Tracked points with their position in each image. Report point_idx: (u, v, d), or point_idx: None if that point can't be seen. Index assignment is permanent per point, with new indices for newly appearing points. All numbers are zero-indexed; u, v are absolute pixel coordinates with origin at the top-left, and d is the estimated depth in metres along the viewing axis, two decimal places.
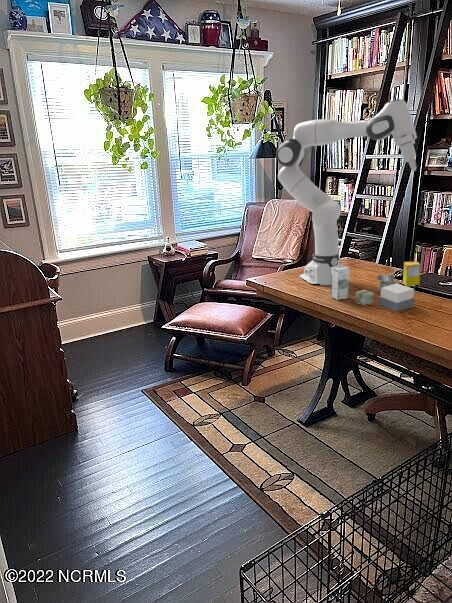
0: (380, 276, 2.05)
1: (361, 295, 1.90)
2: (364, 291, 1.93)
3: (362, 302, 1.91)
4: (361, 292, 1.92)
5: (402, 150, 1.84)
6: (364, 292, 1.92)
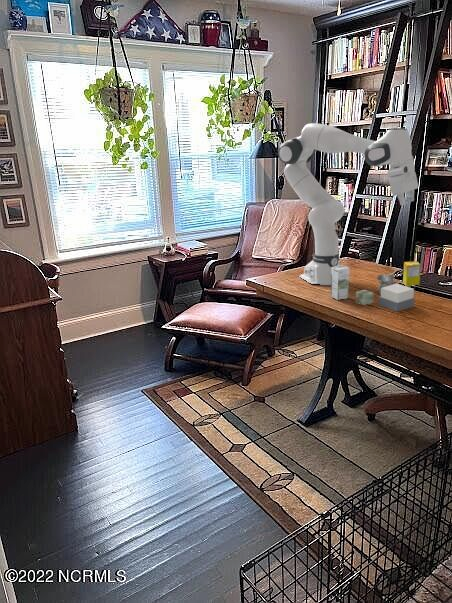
0: (380, 276, 2.05)
1: (361, 295, 1.90)
2: (364, 291, 1.93)
3: (362, 302, 1.91)
4: (361, 292, 1.92)
5: (390, 182, 1.77)
6: (364, 292, 1.92)
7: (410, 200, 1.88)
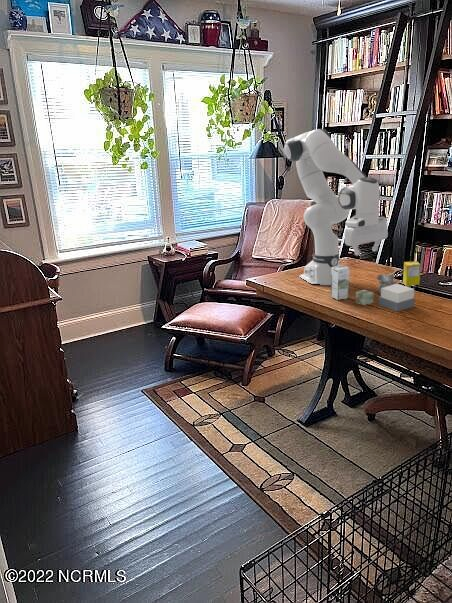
0: (380, 276, 2.05)
1: (361, 295, 1.90)
2: (364, 291, 1.93)
3: (362, 302, 1.91)
4: (361, 292, 1.92)
5: (345, 232, 1.80)
6: (364, 292, 1.92)
7: (373, 250, 1.87)
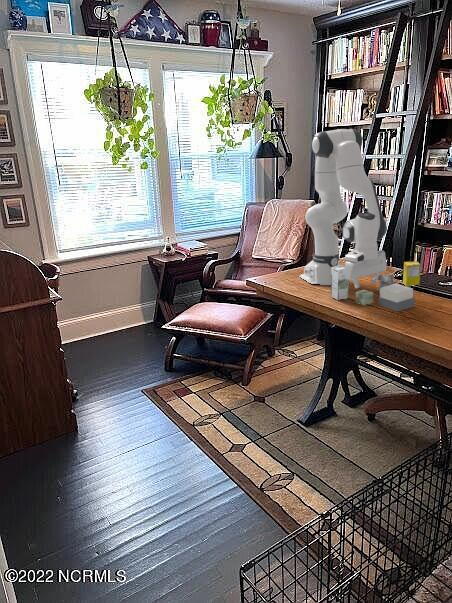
0: (380, 276, 2.05)
1: (361, 295, 1.90)
2: (364, 291, 1.93)
3: (362, 302, 1.91)
4: (361, 292, 1.92)
5: (345, 266, 1.85)
6: (364, 292, 1.92)
7: (372, 282, 1.92)
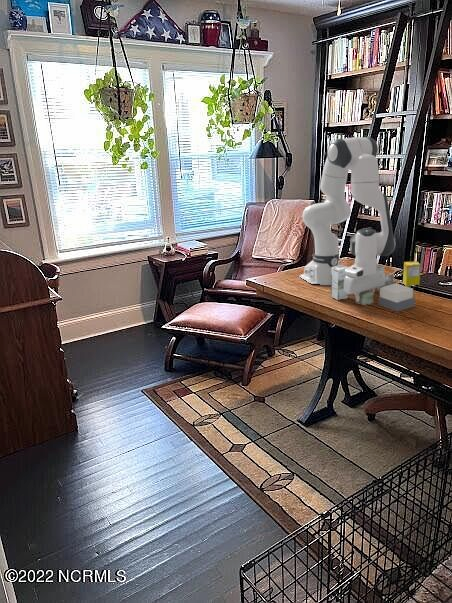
0: None
1: (361, 295, 1.90)
2: (364, 291, 1.93)
3: (362, 302, 1.91)
4: (361, 292, 1.92)
5: (344, 281, 1.87)
6: (364, 291, 1.92)
7: None
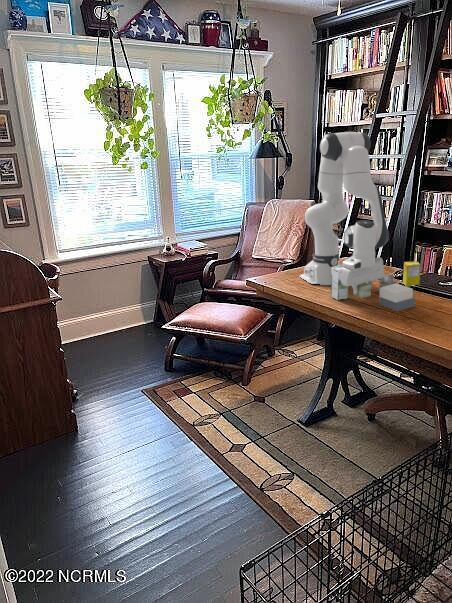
0: None
1: (359, 287, 1.89)
2: (362, 283, 1.92)
3: (359, 294, 1.90)
4: (359, 284, 1.91)
5: (342, 272, 1.86)
6: (362, 284, 1.91)
7: None
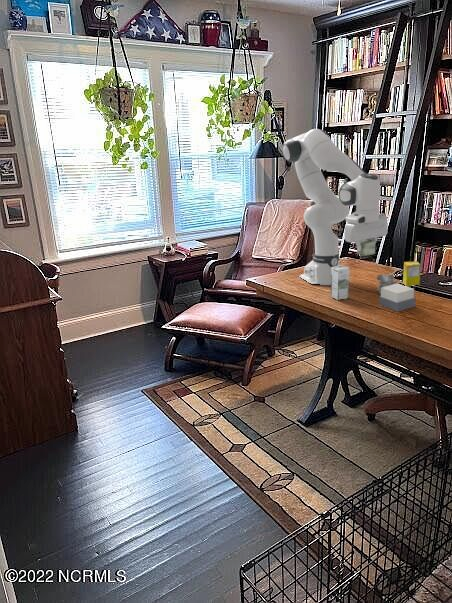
0: (380, 276, 2.05)
1: (363, 244, 1.83)
2: (366, 241, 1.85)
3: (364, 251, 1.83)
4: (363, 241, 1.84)
5: (345, 228, 1.80)
6: (366, 241, 1.85)
7: None
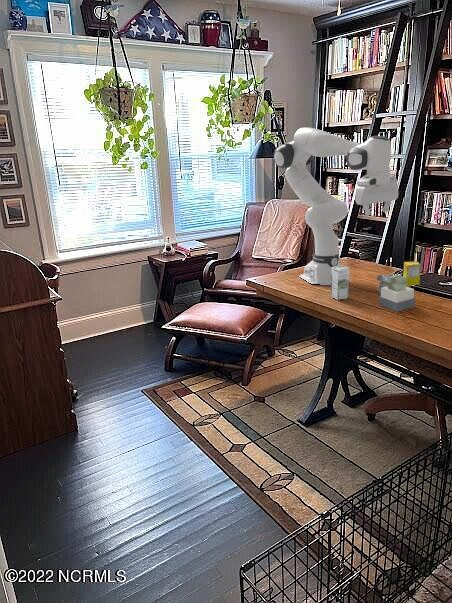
0: (379, 276, 2.05)
1: (394, 280, 1.82)
2: (396, 276, 1.84)
3: (395, 287, 1.82)
4: (393, 277, 1.83)
5: (356, 191, 1.80)
6: (397, 276, 1.83)
7: (384, 210, 1.87)
